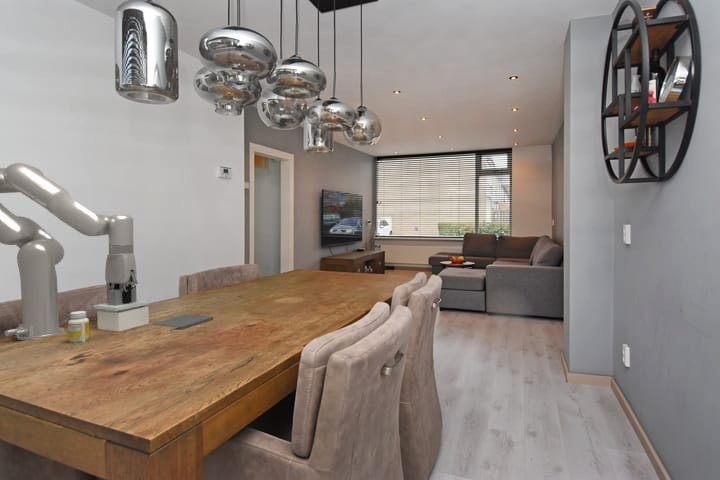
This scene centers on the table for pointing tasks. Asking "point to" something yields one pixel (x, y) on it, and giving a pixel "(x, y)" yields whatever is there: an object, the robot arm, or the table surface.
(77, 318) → the supplement bottle
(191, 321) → the charcoal mat
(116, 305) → the sage lid
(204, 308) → the table surface
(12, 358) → the table surface
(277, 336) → the table surface
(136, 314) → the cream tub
